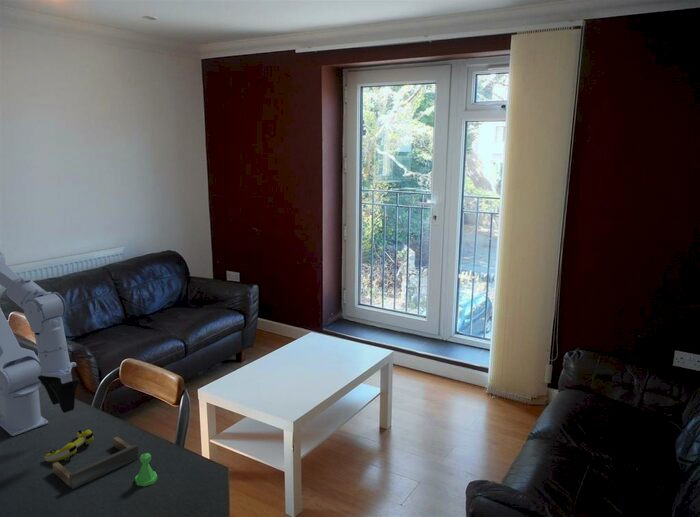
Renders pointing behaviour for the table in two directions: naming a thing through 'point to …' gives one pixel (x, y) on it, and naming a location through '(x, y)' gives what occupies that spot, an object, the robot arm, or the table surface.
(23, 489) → the table surface
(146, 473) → the game piece
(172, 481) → the table surface
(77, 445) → the yellow plastic handheld tool
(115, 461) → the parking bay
